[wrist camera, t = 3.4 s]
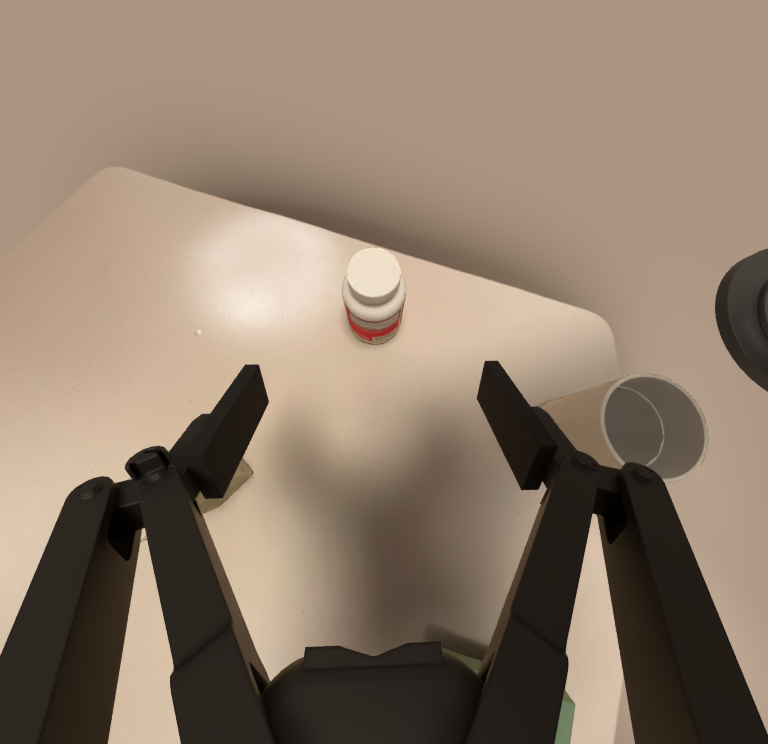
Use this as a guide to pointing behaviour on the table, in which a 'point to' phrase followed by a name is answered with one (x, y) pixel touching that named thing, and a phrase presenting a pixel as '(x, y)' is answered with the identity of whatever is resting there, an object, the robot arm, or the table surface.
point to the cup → (636, 425)
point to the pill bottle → (374, 295)
